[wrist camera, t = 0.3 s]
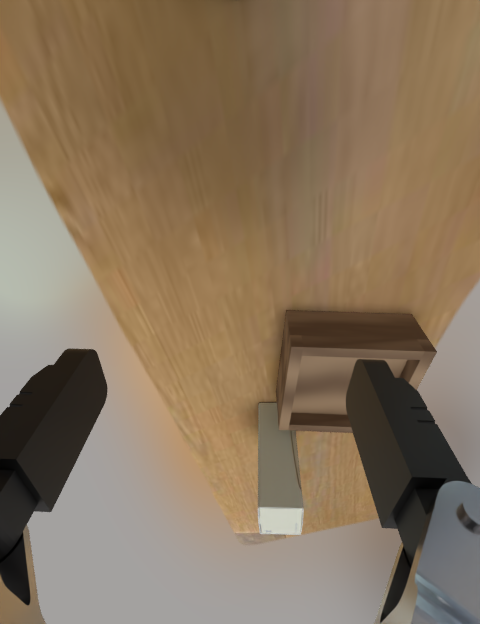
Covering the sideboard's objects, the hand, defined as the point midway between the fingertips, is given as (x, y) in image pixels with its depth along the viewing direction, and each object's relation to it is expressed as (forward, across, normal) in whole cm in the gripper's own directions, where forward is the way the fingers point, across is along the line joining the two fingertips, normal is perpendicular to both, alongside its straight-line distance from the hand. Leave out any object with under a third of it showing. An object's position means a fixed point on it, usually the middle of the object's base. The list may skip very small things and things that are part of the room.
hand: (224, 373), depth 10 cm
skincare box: (+19, -5, +26) cm, 33 cm away
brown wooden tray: (+19, -10, +15) cm, 27 cm away
